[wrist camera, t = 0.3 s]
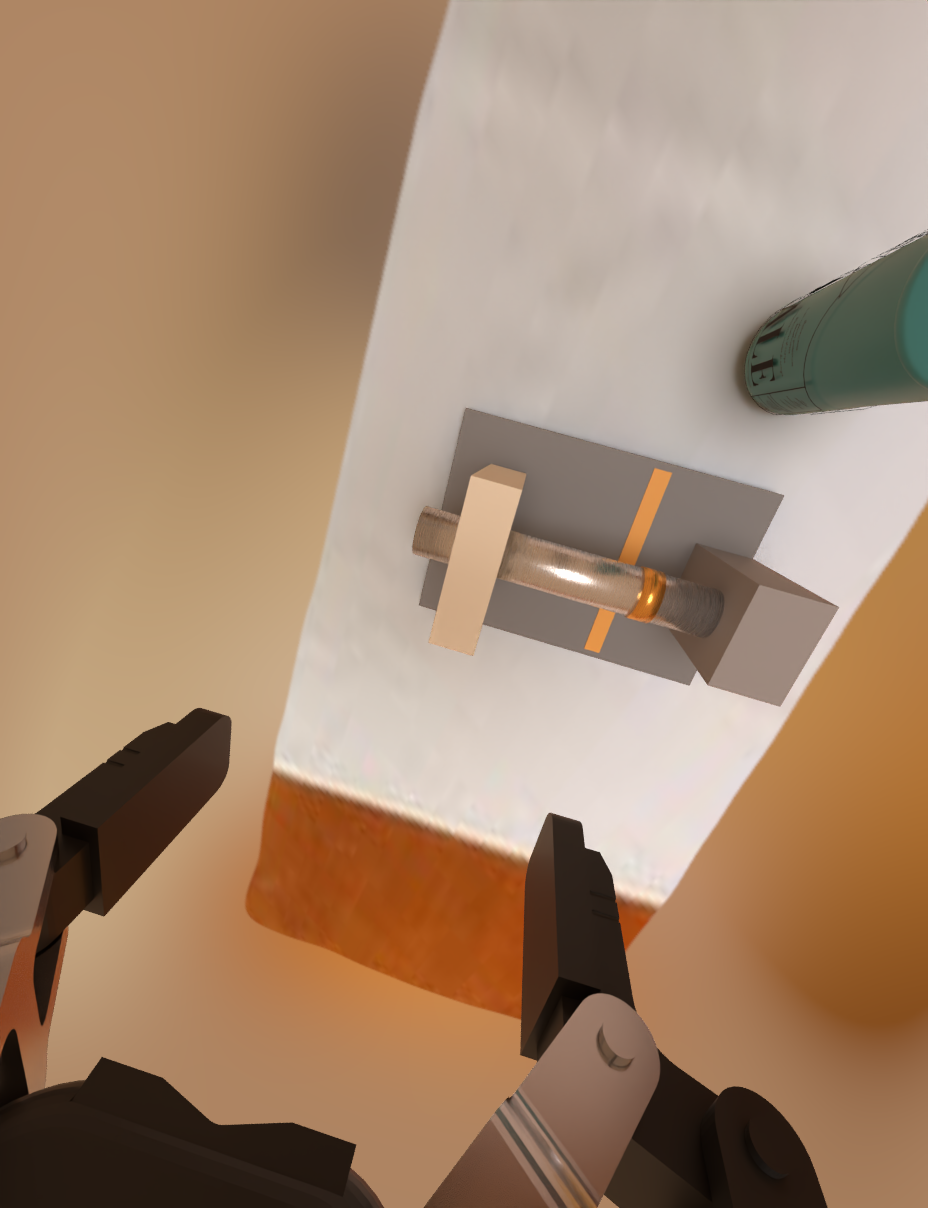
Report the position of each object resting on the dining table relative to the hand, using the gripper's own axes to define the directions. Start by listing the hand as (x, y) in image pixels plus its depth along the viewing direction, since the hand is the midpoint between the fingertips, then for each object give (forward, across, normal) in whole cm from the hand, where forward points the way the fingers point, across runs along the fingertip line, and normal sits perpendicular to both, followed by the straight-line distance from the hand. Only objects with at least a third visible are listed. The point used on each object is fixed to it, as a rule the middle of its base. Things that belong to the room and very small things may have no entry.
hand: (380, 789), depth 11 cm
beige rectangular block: (+24, 0, -2) cm, 24 cm away
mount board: (+27, -6, -2) cm, 28 cm away
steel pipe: (+21, -6, -2) cm, 21 cm away
